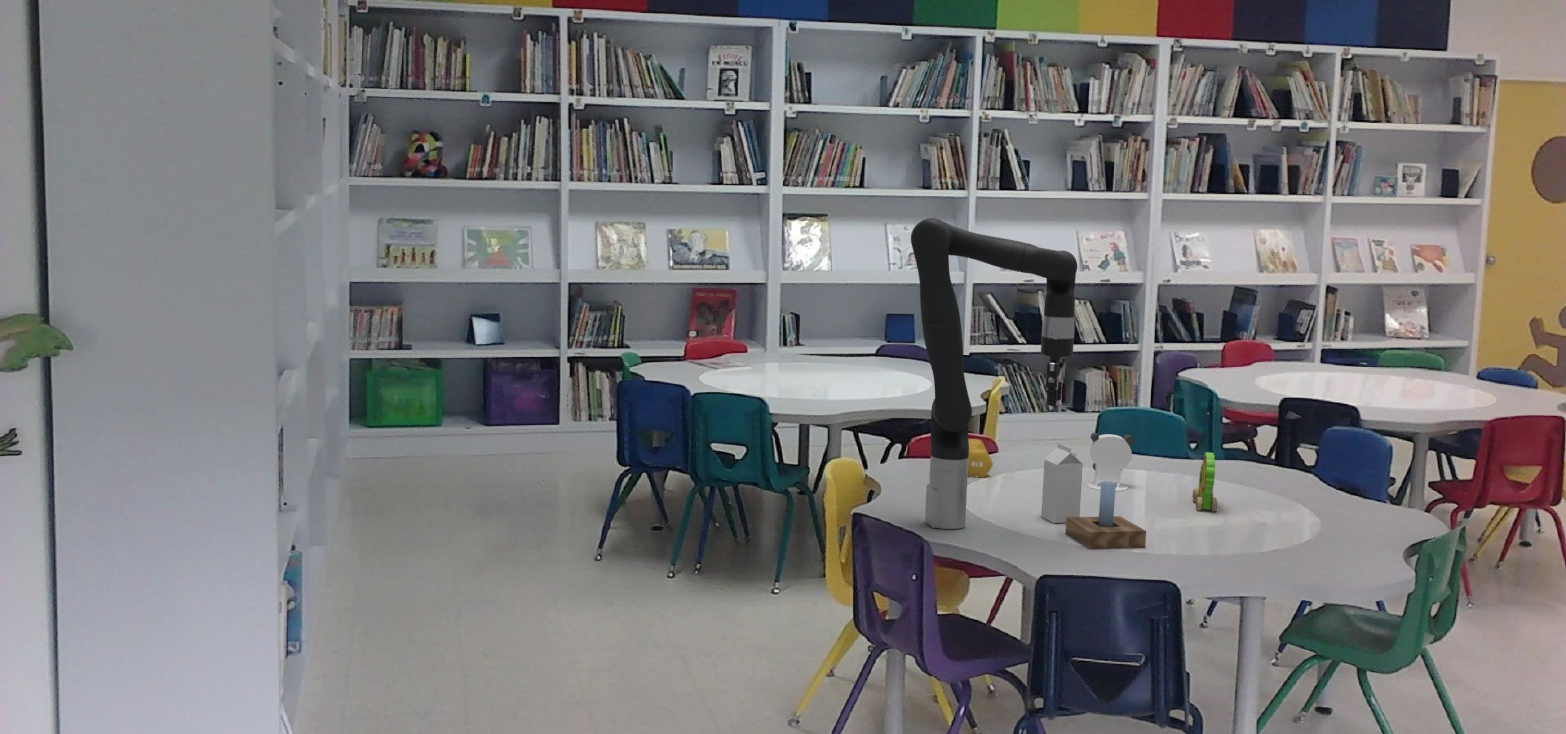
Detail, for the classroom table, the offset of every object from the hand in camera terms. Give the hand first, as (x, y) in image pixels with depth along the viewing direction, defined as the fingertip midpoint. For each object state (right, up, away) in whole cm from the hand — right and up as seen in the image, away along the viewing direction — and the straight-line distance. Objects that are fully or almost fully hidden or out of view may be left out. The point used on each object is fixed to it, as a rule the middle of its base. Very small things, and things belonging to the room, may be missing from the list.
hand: (1053, 402), depth 328 cm
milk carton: (+5, -30, +19) cm, 36 cm away
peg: (+12, -33, 0) cm, 35 cm away
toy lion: (+47, -29, +37) cm, 67 cm away
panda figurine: (+27, -25, +59) cm, 69 cm away
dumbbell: (-9, -22, +74) cm, 78 cm away
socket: (+12, -33, 0) cm, 35 cm away
